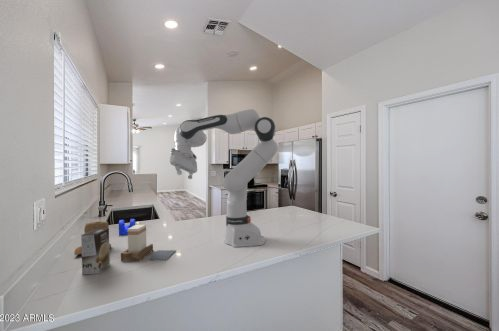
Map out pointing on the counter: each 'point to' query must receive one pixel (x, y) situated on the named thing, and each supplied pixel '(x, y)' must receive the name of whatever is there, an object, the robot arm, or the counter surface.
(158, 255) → the mat
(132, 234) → the striped white pillar
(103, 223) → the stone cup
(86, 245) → the coffee box
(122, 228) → the bracket
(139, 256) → the holder
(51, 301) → the counter surface
